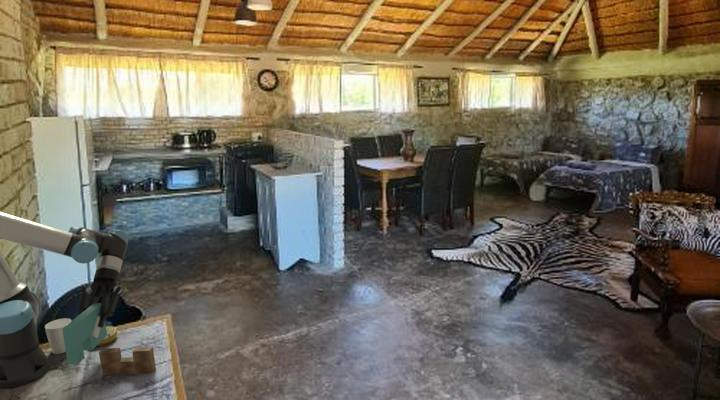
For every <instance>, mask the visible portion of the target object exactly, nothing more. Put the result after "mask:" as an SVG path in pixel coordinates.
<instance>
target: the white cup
mask: <svg viewBox="0 0 720 400" xmlns="http://www.w3.org/2000/svg"><path fill="white" fill-rule="evenodd" d="M71 321H72V319H71V318H67V317H66V318H65V317H64V318H58V319H55V320H52V321H50V322H48V323H46V324H45V325H44V329H45V334H46V337H47V340H48V345H49V346H50V351H51V354H54V355H59V354H60V355H61V354H64V353H65V354H66V350H65V343H64V337H63V331H62V328H64V327H65V326H66V325H67V324H69V323H70V322H71Z"/></svg>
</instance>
